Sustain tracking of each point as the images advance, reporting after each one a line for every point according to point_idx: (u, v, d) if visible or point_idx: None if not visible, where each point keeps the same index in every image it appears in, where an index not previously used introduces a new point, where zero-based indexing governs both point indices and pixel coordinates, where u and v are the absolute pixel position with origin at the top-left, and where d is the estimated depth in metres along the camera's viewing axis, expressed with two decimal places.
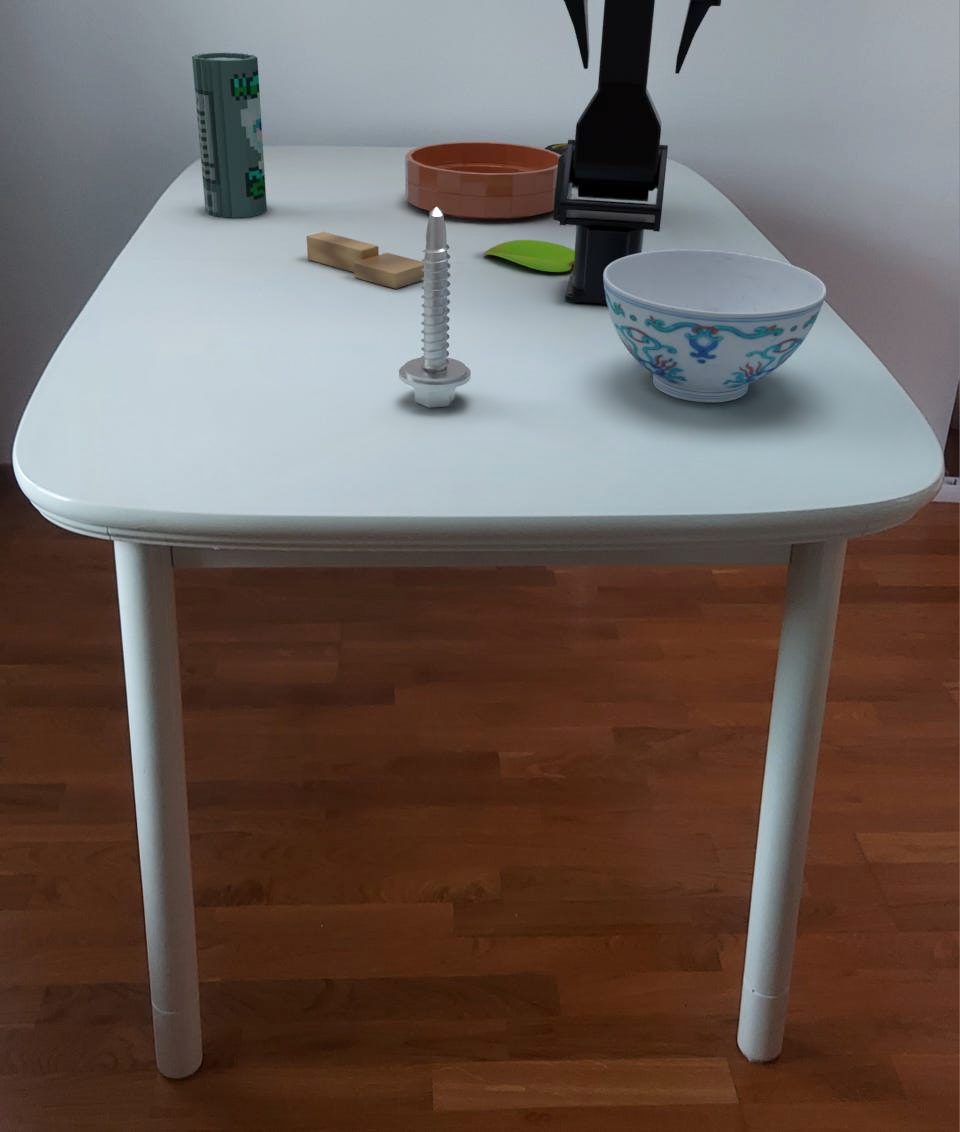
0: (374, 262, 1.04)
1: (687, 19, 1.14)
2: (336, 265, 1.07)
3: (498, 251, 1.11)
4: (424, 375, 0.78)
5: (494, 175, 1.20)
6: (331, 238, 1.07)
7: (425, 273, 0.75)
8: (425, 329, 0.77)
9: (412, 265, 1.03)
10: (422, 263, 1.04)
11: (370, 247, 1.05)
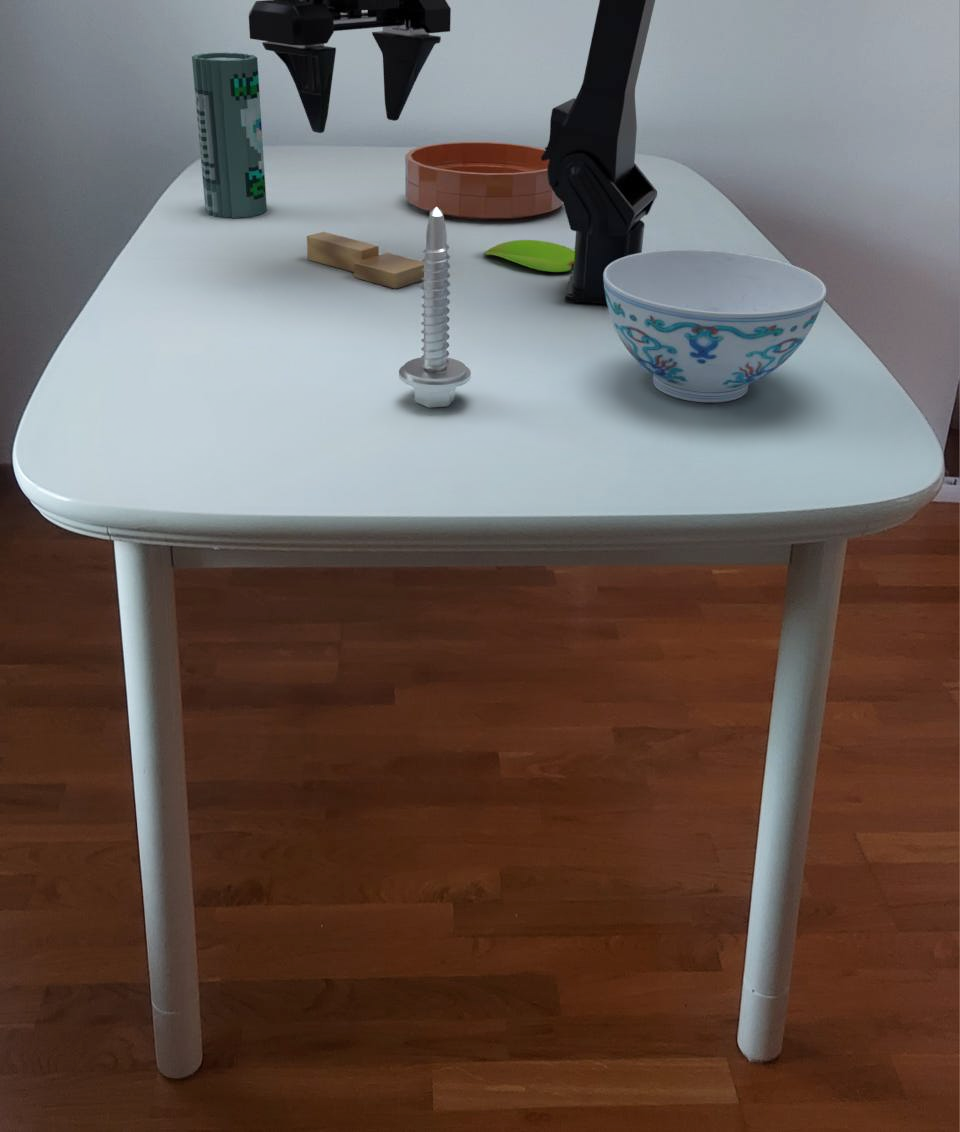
0: (374, 262, 1.04)
1: (415, 60, 1.02)
2: (336, 265, 1.07)
3: (498, 251, 1.11)
4: (424, 375, 0.78)
5: (494, 175, 1.20)
6: (331, 238, 1.07)
7: (425, 273, 0.75)
8: (425, 329, 0.77)
9: (412, 265, 1.03)
10: (422, 263, 1.04)
11: (370, 247, 1.05)
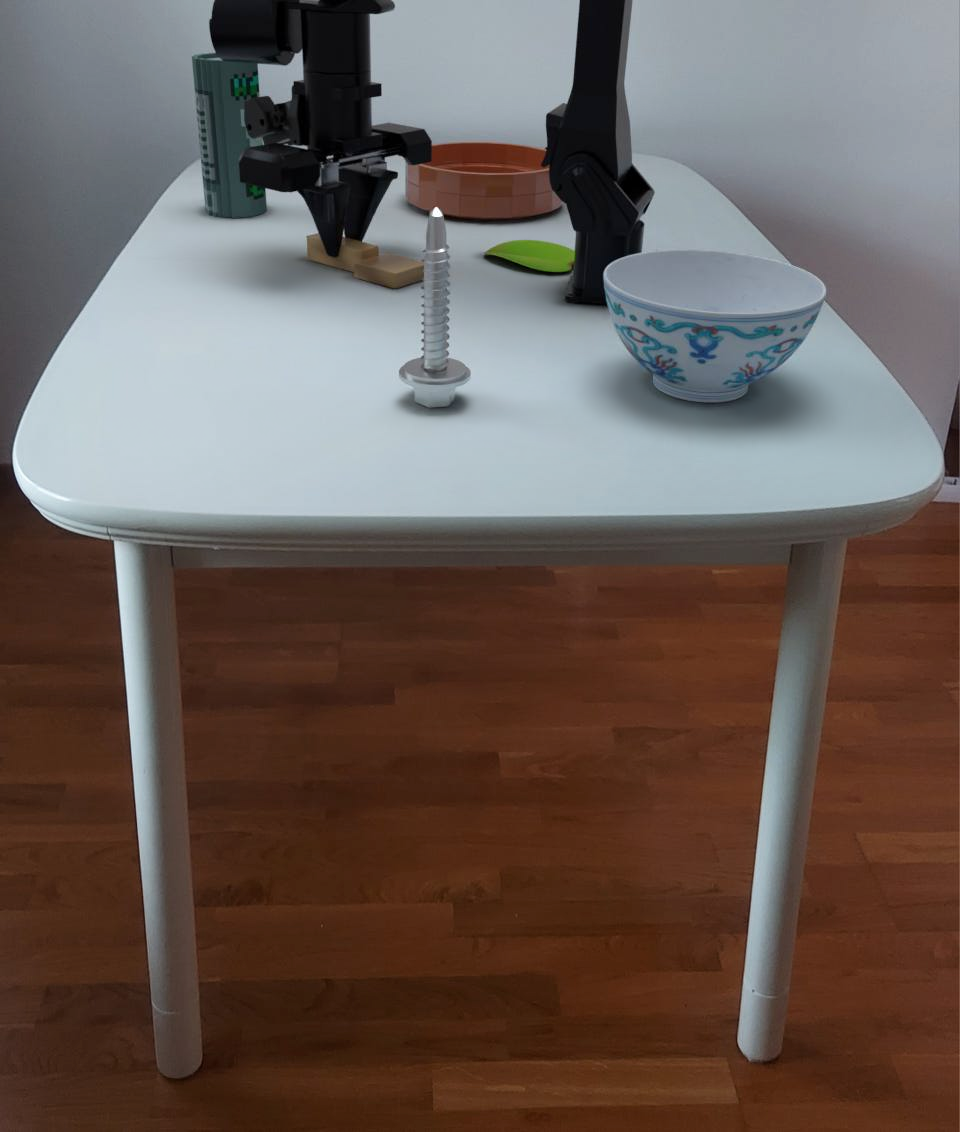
0: (374, 262, 1.04)
1: (373, 197, 1.04)
2: (336, 265, 1.07)
3: (498, 251, 1.11)
4: (424, 375, 0.78)
5: (494, 175, 1.20)
6: None
7: (425, 273, 0.75)
8: (425, 329, 0.77)
9: (412, 265, 1.03)
10: (422, 263, 1.04)
11: (370, 247, 1.05)
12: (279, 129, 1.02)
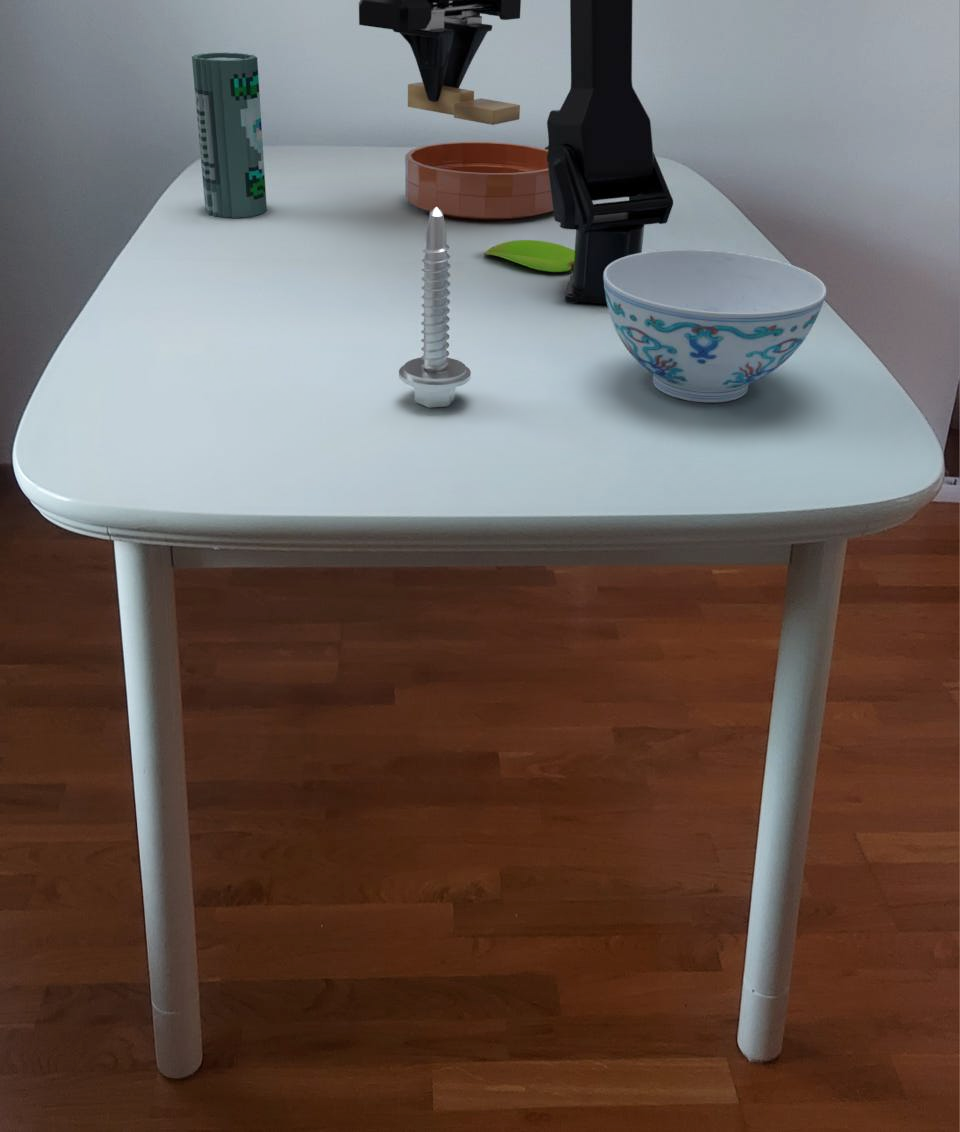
0: (472, 103, 1.17)
1: (471, 46, 1.17)
2: (435, 109, 1.19)
3: (498, 251, 1.11)
4: (424, 375, 0.78)
5: (494, 175, 1.20)
6: None
7: (425, 273, 0.75)
8: (425, 329, 0.77)
9: (506, 105, 1.16)
10: (514, 104, 1.17)
11: (467, 91, 1.18)
12: None
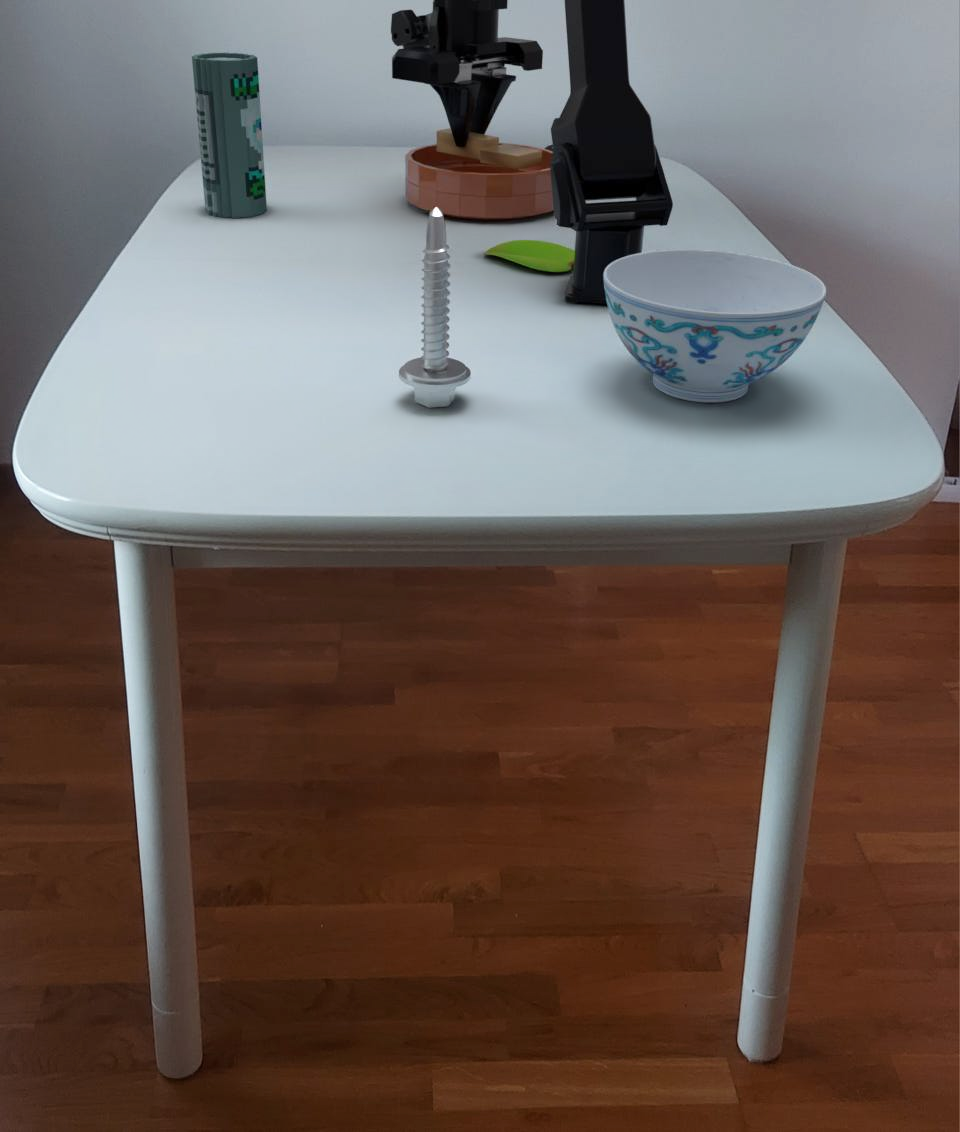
0: (497, 149, 1.24)
1: (496, 96, 1.25)
2: (462, 154, 1.27)
3: (498, 251, 1.11)
4: (424, 375, 0.78)
5: (494, 175, 1.20)
6: None
7: (425, 273, 0.75)
8: (425, 329, 0.77)
9: (529, 151, 1.24)
10: (537, 150, 1.24)
11: (492, 138, 1.26)
12: (420, 37, 1.23)
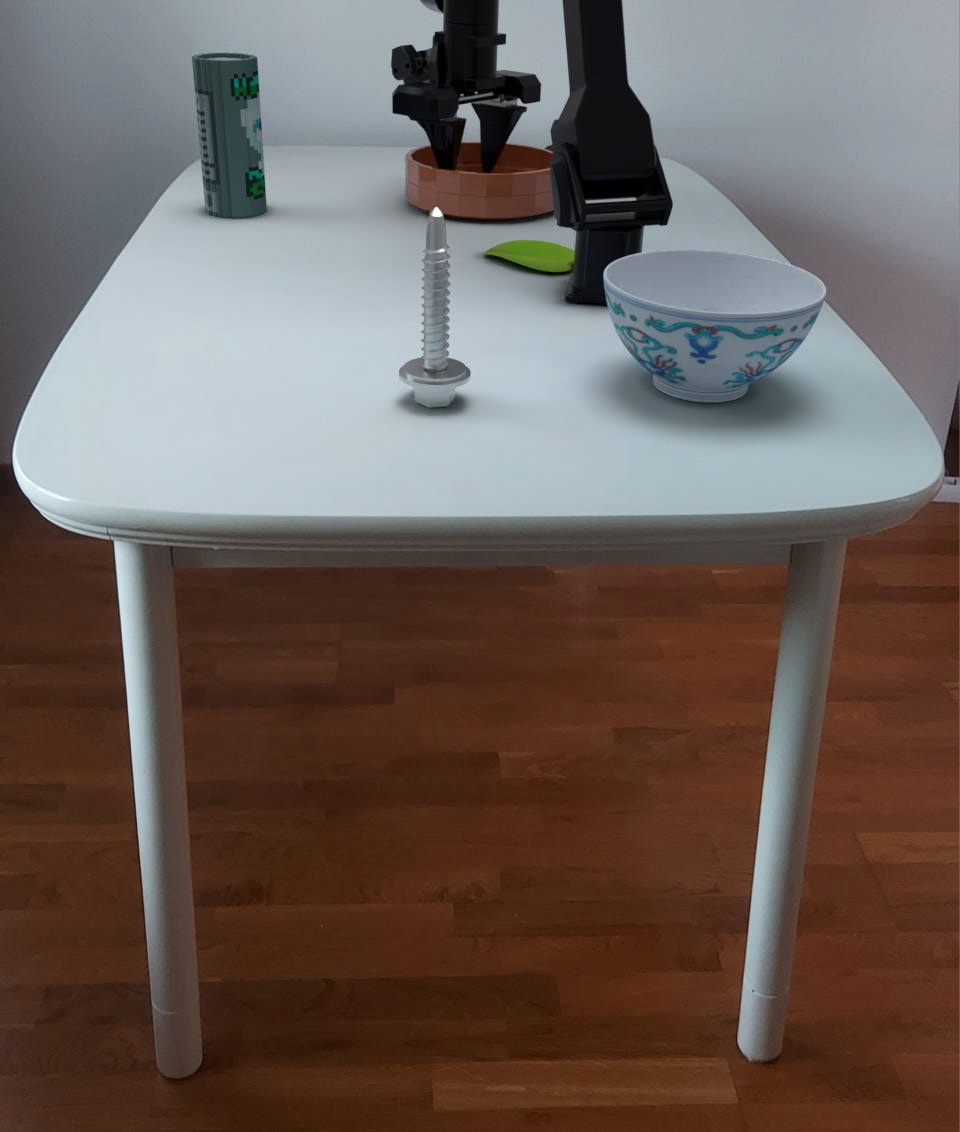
0: None
1: (508, 126, 1.28)
2: None
3: (498, 251, 1.11)
4: (424, 375, 0.78)
5: (494, 175, 1.20)
6: None
7: (425, 273, 0.75)
8: (425, 329, 0.77)
9: None
10: None
11: None
12: (420, 72, 1.25)
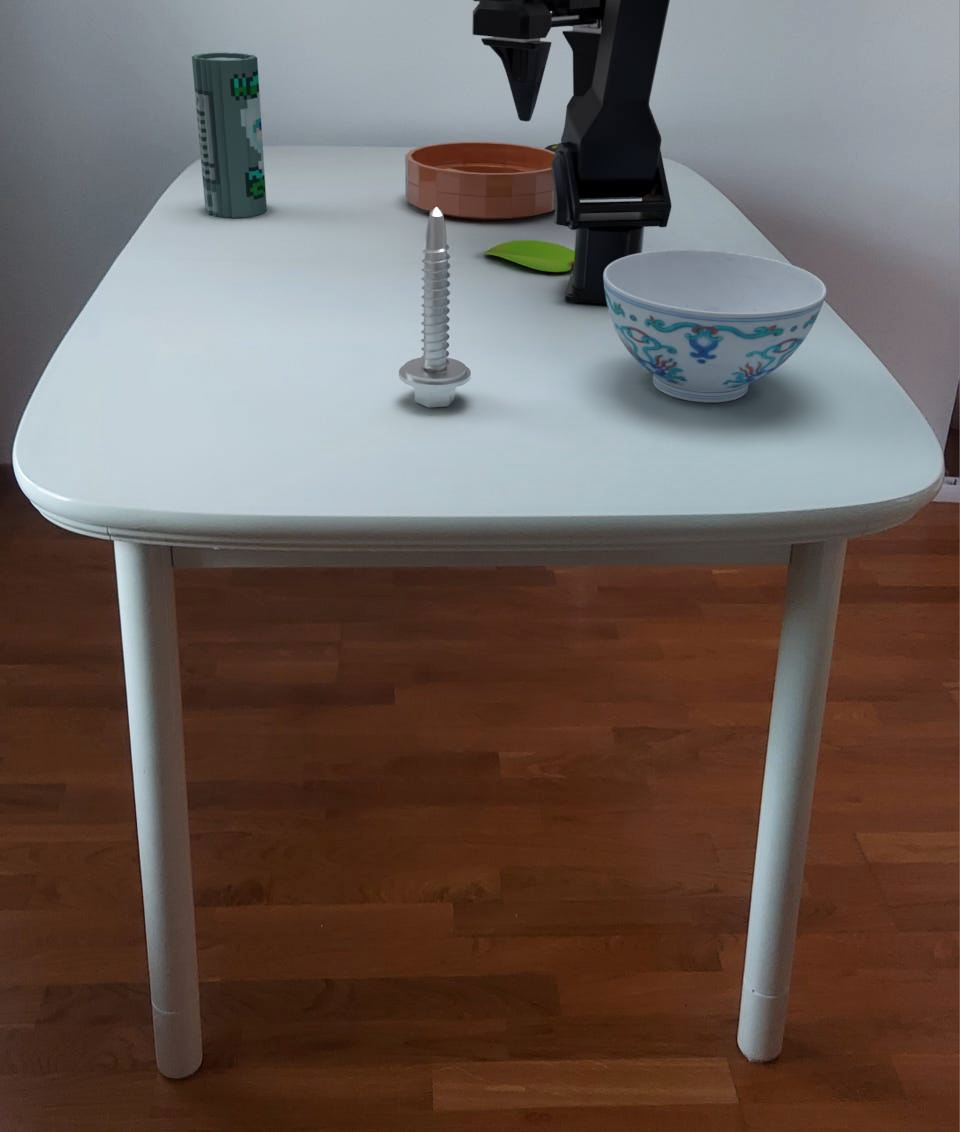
0: None
1: None
2: None
3: (498, 251, 1.11)
4: (424, 375, 0.78)
5: (494, 175, 1.20)
6: None
7: (425, 273, 0.75)
8: (425, 329, 0.77)
9: None
10: None
11: None
12: None
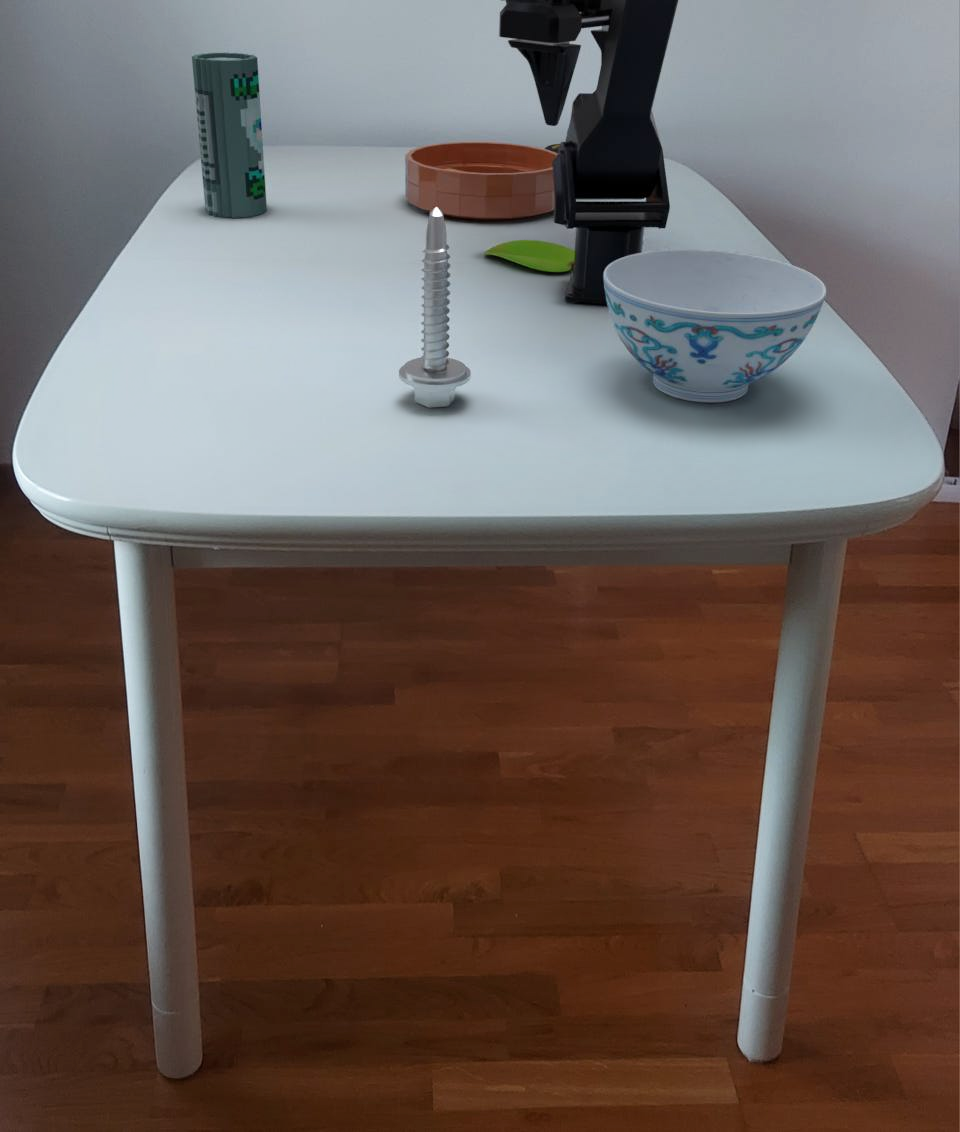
0: None
1: None
2: None
3: (498, 251, 1.11)
4: (424, 375, 0.78)
5: (494, 175, 1.20)
6: None
7: (425, 273, 0.75)
8: (425, 329, 0.77)
9: None
10: None
11: None
12: None
